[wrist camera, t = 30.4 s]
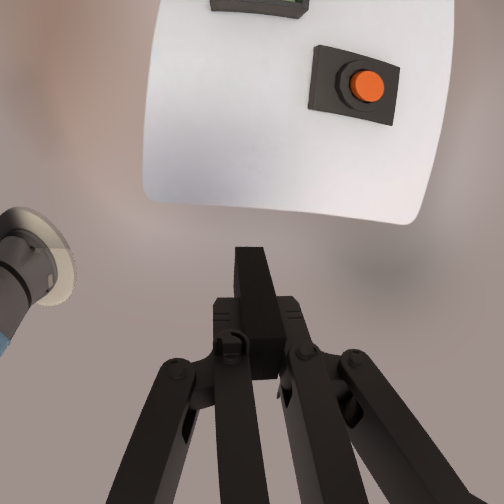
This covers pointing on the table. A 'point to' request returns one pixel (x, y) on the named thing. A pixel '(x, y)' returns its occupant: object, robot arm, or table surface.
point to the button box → (338, 85)
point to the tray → (263, 7)
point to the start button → (367, 86)
